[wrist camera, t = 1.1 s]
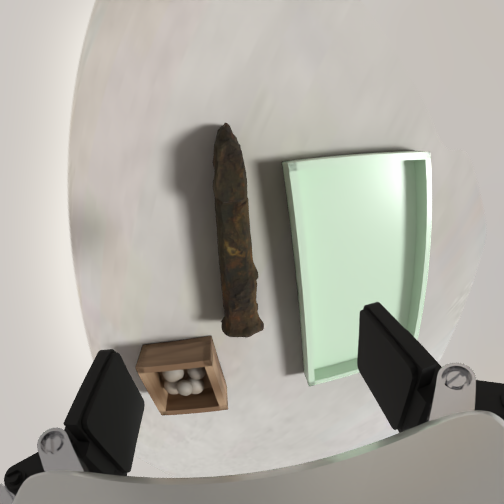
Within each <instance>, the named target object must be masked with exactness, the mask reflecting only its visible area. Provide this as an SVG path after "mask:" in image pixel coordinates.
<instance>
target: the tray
mask: <svg viewBox="0 0 504 504" xmlns="http://www.w3.org/2000/svg"><path fill="white" fill-rule="evenodd" d="M282 167H283V174H284V181H285V188H286V196H287V203H288V211H289V219H290V227H291V236H292V244H293V253H294V262H295V272H296V282H297V292H298V302H299V313H300V325H301V337H302V350H303V364H304V374H305V377H306V379H307V382H308V385H309V386H313V385H317V384H321V383H324V382H328V381H332V380H336V379H339V378H343V377H346V376H349V375H353V374H356V373H359V370H358V366H357V356H358V340H359V317H360V311H361V310H363V308H364V306H365V305H368V304H371V303H375V302H379V303H381V304H382V305H383V306H384V307H385V308H386V309H387V310H388V312H389V313H390V314H391V315H392V316H393V317H394V318H395V319H396V320H397V321H398V322H399V323H400V324H401V325H402V326H403V327H404V328H405V329H407V330H408V331H409V332H410V333H411V334H412V335H413V336H414V337H415V339H416V340H418V335H419V330H420V324H421V319H422V313H423V307H424V300H425V294H426V286H427V278H428V268H429V257H430V244H431V224H432V178H431V158H430V152H423V151H396V152H377V153H362V154H349V155H338V156H328V157H318V158H309V159H301V160H293V161H285V162H282Z"/></svg>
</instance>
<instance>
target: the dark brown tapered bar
mask: <svg viewBox="0 0 504 504" xmlns="http://www.w3.org/2000/svg"><path fill="white" fill-rule="evenodd" d="M213 165H214V170H215V171H214V172H215V175H214V180H213V191H214V194H215V210H216V222H217V237H218V253H219V265H220V272H221V286H222V293H223V307H224V310H225V317H224V318H223V319H222V321H221V322H222V331H223V332H224V333H225V335H227V336H229V337H250V336H252V335H253V334H255V333H257V332H259V331H262V330H263V328H264V324H263V322H262V320H261V319H260V317H259V315H258V312H257V310H258V304H257V303H256V291H257V282H256V280H257V278H258V272H257V269H256V267H255V265H254V263H253V258H252V243H251V234H250V223H249V206H248V198H247V178H246V170H245V165H244V160H243V156H242V151H241V148H240V144H239V143H238V141H237V138H236V137H235V136H234V134H233V133H232V130H231V128H230V126H229V125H228V124H227V123H225V124H224V125H223V126H222V127H220V129H219V130H218V133H217V137H216V141H215V144H214V156H213Z"/></svg>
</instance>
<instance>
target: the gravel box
mask: <svg viewBox="0 0 504 504" xmlns="http://www.w3.org/2000/svg"><path fill="white" fill-rule="evenodd" d="M135 368H136V370H137V372H138V374H139V376H140V378H141V380H142V382H143V384H144V385H145V387H146V389H147V391H148V393H149V394H150V396H151V398H152V400H153V401H154V403H155V405H156V407H157V408H158V410H159V412H160V413H161V415H177V414H190V413H201V412H211V411H219V410H227V409H228V401H227V385H226V382H225V379H224V376H223V372H222V369H221V366H220V363H219V360H218V356H217V353H216V350H215V346H214V343H213V340H212V336H206V337H200V338H193V339H186V340H178V341H171V342H163V343H154V344H145V345H143V346H142V349H141V352H140V355H139V358H138V361H137V364H136V367H135Z"/></svg>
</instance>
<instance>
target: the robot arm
mask: <svg viewBox="0 0 504 504" xmlns="http://www.w3.org/2000/svg"><path fill="white" fill-rule="evenodd" d="M357 366H358V370H359V372H360V373H361V375H362V377H363V378H364V380H365V382H366V383H367V385H368V387H369V389H370V390H371V392H372V394H373V395H374V397H375V399H376V401H377V402H378V404H379V406H380V407H381V409H382V411H383V413H384V414H385V416H386V418H387V420H388V421H389V423H390V425H391V427H392V428H393V429H394V430H396V429H398V431H399V433H398V434H396V435H393V436H391V437H388V438H385V439H383V440H380V441H377V442H374V443H372V444H369V445H366V446H363V447H360V448H357V449H354V450H351V451H348V452H344V453H341V454H338V455H334V456H331V457H327V458H323V459H320V460H316V461H312V462H307V463H303V464H299V465H294V466H289V467H284V468H279V469H273V470H267V471H261V472H254V473H247V474H238V475H229V476H217V477H200V478H148V477H131V476H127V472H130V471H131V467H132V462H133V457H134V452H135V447H136V442H137V438H138V433H139V429H140V424H141V420H142V415H143V411H144V400H143V398H142V396H141V394H140V392H139V391H138V389H137V387H136V385H135V383H134V381H133V380H132V378H131V376H130V374H129V372H128V370H127V368H126V366H125V364H124V362H123V360H122V358H121V356H120V354H119V353H116V352H115V351H114V350H113V349H110V350H100V351H99V352H98V354H97V356H96V358H95V360H94V361H93V364H92V365H91V367H90V369H89V371H88V373H87V375H86V377H85V379H84V381H83V383H82V385H81V387H80V389H79V391H78V393H77V396H76V398H75V400H74V402H73V404H72V406H71V408H70V410H69V413H68V415H67V417H66V419H65V422H64V425H65V426H66V427H65V430H63V429H60V428H52V429H49V430H47V431H45V432H44V433H43V434H42V435H41V436H40V438H39V440H38V444H37V448H38V452H37V453H36V454H33V455H32V456H30V457H28V458H26V459H24V460H23V461H21V462H19V463H17V464H16V465H13V466H12V467H10V468H9V469H8V470H7V472H6V474H5V478H4V482H5V486H4V485H3V484H0V504H504V384H502V383H494V382H487V381H479V380H476V377H475V373H474V372H473V370H472V369H470V367H468V366H467V365H464V364H461V363H450V364H447V365H445V366H443V367H441V366H440V365H439V364H438V362H437V361H436V360H435V359H434V358H433V357H432V356H431V355H430V354H429V353H428V351H427V350H426V349H425V348H424V347H423V346H422V345H421V344H420V343H419V342H418V341H417V340H416V339H415V337H414V336H413V335H412V334H411V333H410V332H409V331H408V330H407V329H405V328H404V327H403V326H402V325H401V324H400V323H399V322H398V321H397V320H396V319H395V318H394V317H393V316H392V315H391V314H390V313H389V312H388V310H387V309H386V308H385V307H384V306H383V305H382V304H381V303H379V302H375V303H371V304H368V305H365V306H364V308H363V310H361V311H360V317H359V340H358V356H357Z"/></svg>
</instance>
